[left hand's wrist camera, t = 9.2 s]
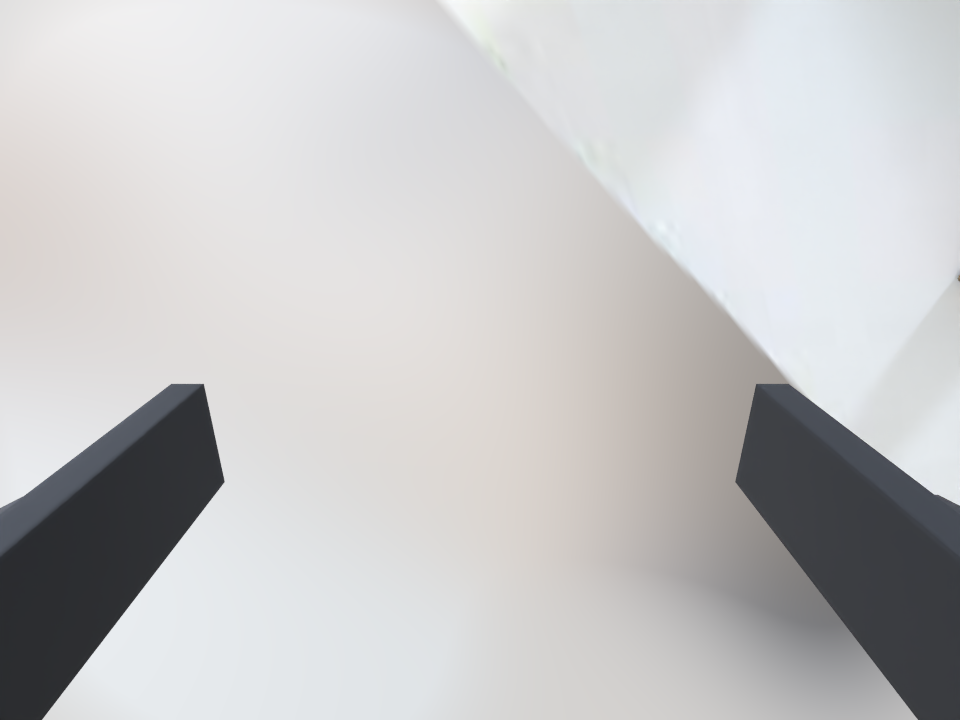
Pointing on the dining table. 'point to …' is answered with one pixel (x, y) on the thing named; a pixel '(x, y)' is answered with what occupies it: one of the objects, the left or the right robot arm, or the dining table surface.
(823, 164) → the dining table surface
